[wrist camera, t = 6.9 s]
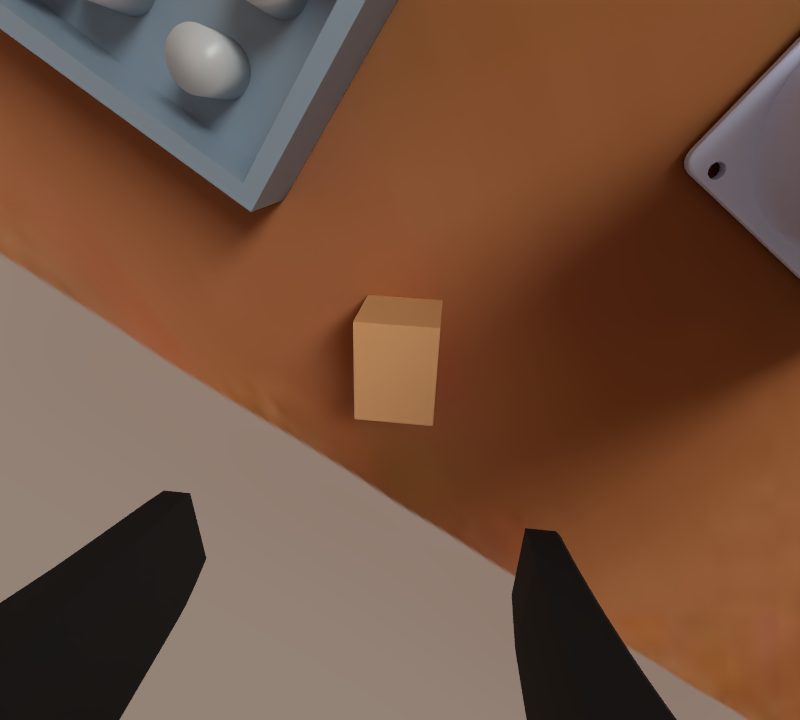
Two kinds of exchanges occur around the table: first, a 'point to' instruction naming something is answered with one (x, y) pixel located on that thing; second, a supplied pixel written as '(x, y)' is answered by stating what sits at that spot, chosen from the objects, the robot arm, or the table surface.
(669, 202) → the table surface
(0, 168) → the table surface
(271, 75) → the tub
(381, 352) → the lid
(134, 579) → the robot arm
